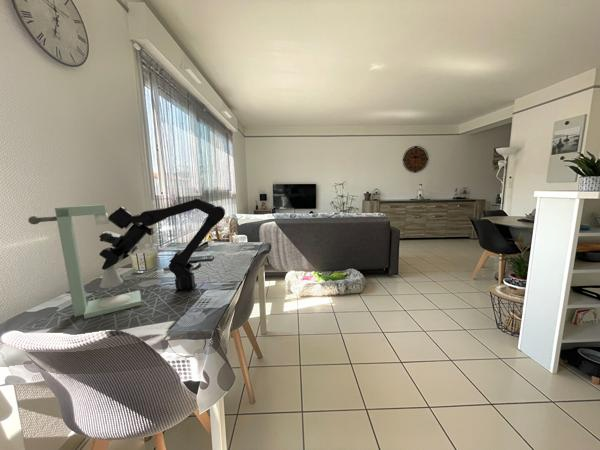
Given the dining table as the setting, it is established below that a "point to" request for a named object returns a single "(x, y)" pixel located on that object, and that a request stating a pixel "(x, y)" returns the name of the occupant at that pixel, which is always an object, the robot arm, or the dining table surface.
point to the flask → (110, 278)
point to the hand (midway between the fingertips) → (105, 267)
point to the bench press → (73, 263)
